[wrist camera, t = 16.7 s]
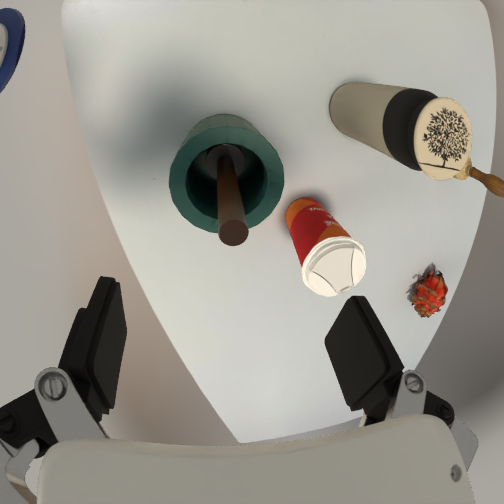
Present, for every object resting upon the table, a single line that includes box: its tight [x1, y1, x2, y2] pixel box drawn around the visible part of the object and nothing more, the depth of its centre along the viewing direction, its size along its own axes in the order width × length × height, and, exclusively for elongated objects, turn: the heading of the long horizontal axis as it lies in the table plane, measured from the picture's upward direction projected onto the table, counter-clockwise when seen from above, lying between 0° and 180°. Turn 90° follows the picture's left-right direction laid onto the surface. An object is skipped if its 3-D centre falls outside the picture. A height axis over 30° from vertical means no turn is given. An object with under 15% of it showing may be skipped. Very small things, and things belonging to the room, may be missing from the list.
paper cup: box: [286, 198, 366, 296], centre depth 34 cm, size 8×8×14 cm
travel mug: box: [330, 82, 472, 180], centre depth 24 cm, size 8×8×18 cm
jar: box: [169, 114, 284, 233], centre depth 28 cm, size 10×10×12 cm
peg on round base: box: [205, 143, 249, 246], centre depth 24 cm, size 4×4×20 cm
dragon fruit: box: [411, 271, 448, 318], centre depth 50 cm, size 8×8×12 cm
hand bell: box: [453, 156, 504, 197], centre depth 30 cm, size 8×8×16 cm
